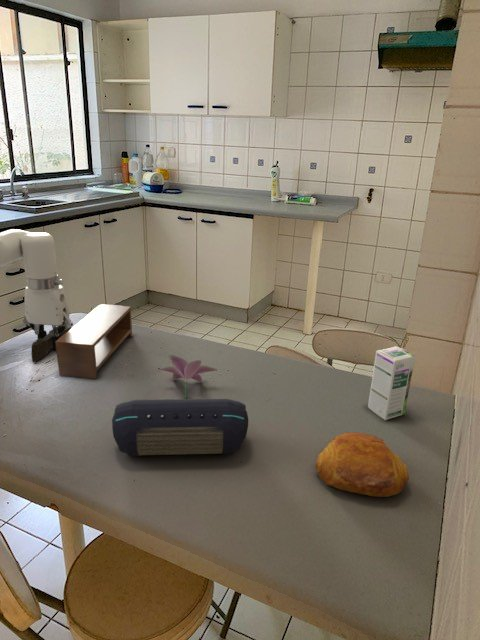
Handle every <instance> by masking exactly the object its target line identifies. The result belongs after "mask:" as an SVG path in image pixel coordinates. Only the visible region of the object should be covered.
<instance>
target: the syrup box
mask: <svg viewBox="0 0 480 640" xmlns="http://www.w3.org/2000/svg"><path fill="white" fill-rule="evenodd" d="M415 360H416V356H415V354H413V353H412V352H410V351H408V350H406V349H404V348H402V347H399V346H397V345H395V346H392V347H388V348H383V349H377V350H375V357H374V363H373V371H372V376H371V383H370V390H369V398H368V404H367V408H368V409H369V410H370V411H372V412H373V413H374V414H376V415H377V416H378V417H379V418H381V419H383V420H384V421H388V420H390V419H393V418H397V417H400V416H404V415H405V414H406V409H407V403H408V398H409V392H410V388H411V382H412V376H413V370H414V366H415V362H416V361H415Z"/></svg>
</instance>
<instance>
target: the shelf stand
mask: <svg viewBox="0 0 480 640" xmlns="http://www.w3.org/2000/svg"><path fill="white" fill-rule="evenodd" d="M132 323H133V322H132V306H129V305H117V304H105V303H100V304H99V305H97V306H96V307H95V308H93V309H92V310H91V311H90V312H89V313H88V314H87V315H85V316H84V317H83V318H82V319H81V320H79V321H78V322H77V323H76V324H74V325H72V326H71V327H72V328H71V329H70V330H69V331H68V332H66V333H65V334H64V335H63V336H62V337H60V338H59V339H58V340H57V341H56V342H55V343H56V350H55V351H56V359H57V366H58V375H59V376H60V377H61V376H62V377H70V378H72V377H73V378H80V379H81V378H82V379H90V380H91V379H92V380H96V379H97V377H98V370H99V369H100V368H101V367H102V366H103V365H104V364H105V363H106V361H107V360H108V359H109V358H110V356H111V355H112V354H113V353H114V352H115V351H116V350H117V348H119V347H120V345H122V343H123V342H124V341H125V339H126V338H131V337H132V336H133V324H132Z"/></svg>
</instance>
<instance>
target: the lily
mask: <svg viewBox="0 0 480 640" xmlns="http://www.w3.org/2000/svg"><path fill="white" fill-rule="evenodd" d="M169 360H170V363H171V365H172V366H167V367H161V368H159V371H163V372H167V373H171V374H172V379H173V380H176V381H177V380H180V379H183V380H185V381H184V399H187V382H188V380H189V379H191V380H194V381H197V382H199V383H202V382H203V378H202V376H201V374H205V373H210V372H216V371H218V368H215V367H212V366H208V365H202V360H201V359H197V360H192V361H187V360H186V359H184V358H182V357H180V356H177V355H175V354H174V355H173V354H169Z"/></svg>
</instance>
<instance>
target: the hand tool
mask: <svg viewBox="0 0 480 640" xmlns="http://www.w3.org/2000/svg"><path fill="white" fill-rule="evenodd" d="M64 324H65V323H64V321H63V324H62V326H63V325H64ZM72 327H73V326H71V327H70V328H68V329H66V330H64V331H63V332H62V336H63V335H64V334H65V333H66V332H68V331H69V330H70V329H71V328H72ZM53 336H54V332H53V329H51V330H49V331H48V333H47V335H46V336H45V337H44V338H39V339H38V338H37V339H36V340H35V341H33V342H32V344H31V352H30V353H31V360H32V362H31V363H35V362H38V361H39V360H41V359H43V358H44V357H46V356H47V355H48V354H49V351H50V350H51V349H52V348H54V346H53Z"/></svg>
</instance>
